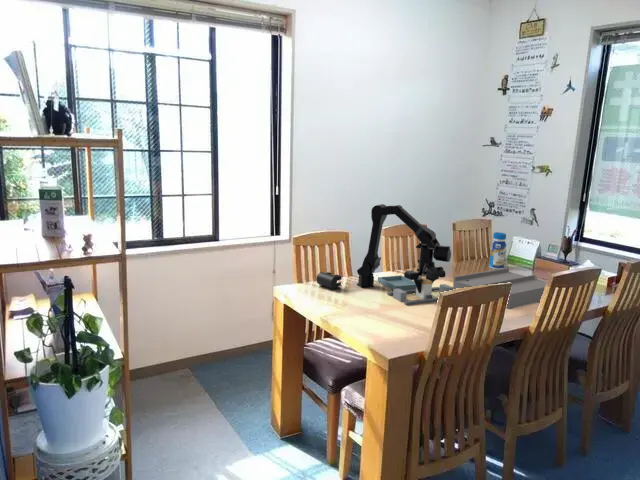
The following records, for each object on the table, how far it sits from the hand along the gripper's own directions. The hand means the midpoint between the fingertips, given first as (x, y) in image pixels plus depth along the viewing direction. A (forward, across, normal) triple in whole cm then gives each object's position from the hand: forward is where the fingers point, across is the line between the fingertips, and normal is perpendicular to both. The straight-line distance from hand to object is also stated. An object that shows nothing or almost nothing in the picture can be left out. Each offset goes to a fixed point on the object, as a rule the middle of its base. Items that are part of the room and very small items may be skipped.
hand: (423, 292), depth 225 cm
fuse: (+2, 0, 0) cm, 2 cm away
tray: (+2, -1, +19) cm, 19 cm away
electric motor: (+2, -35, +26) cm, 44 cm away
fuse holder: (+2, 0, 0) cm, 2 cm away
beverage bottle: (+2, +74, +34) cm, 81 cm away
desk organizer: (+3, +43, -7) cm, 44 cm away
